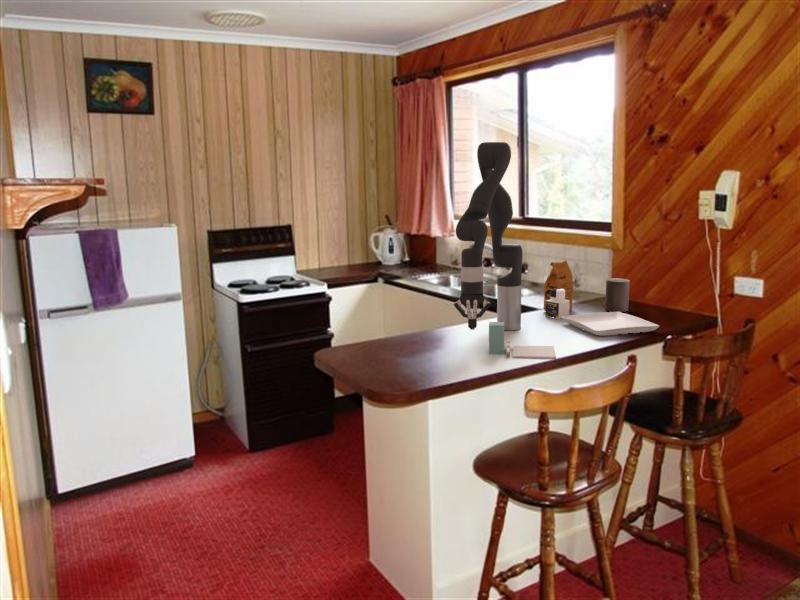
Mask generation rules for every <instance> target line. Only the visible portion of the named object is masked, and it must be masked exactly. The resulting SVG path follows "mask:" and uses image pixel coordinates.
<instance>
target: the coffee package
mask: <svg viewBox="0 0 800 600" xmlns="http://www.w3.org/2000/svg"><path fill="white" fill-rule="evenodd" d="M550 266H551V267H552V268H551V270H550V273H549V275H548V276H547V278H546V279H545V282H544V286H543V310H544V312H545V311H546V300H550V299H551V298H550V290H551V289H553V288H562V289H564V290H565V300H569V301H570V303H569V310H570V311H572V310H573V299H574V294H573V293H574V281H573V272H572V270H571V268H570V266H569V264H568V261H567V260H566V259H564V260H562V261H559V262H557V261H554V262H553V261H552V262H551V263H550Z"/></svg>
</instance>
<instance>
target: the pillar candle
mask: <svg viewBox="0 0 800 600" xmlns="http://www.w3.org/2000/svg"><path fill="white" fill-rule="evenodd" d="M630 281H631V280H630V279H628V278H627V279H626V278H620V277H618V276H617V277H615V278H614V277H613V278H607V279H606V281H605V299H604V300H605V301H604V302H605V303H604V304H605V306H604V311H605V310H606V311H605V312H607V311H611V312H626V311H628V312H629V304H630V303H629V301H630V299H629V298H630ZM626 313H627V312H626Z"/></svg>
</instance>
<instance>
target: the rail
mask: <svg viewBox="0 0 800 600" xmlns="http://www.w3.org/2000/svg"><path fill="white" fill-rule="evenodd" d="M506 358H507V359H510V358H511V341H506Z"/></svg>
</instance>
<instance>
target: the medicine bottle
mask: <svg viewBox="0 0 800 600" xmlns="http://www.w3.org/2000/svg"><path fill="white" fill-rule="evenodd" d="M550 298H551V299H550V300H546V312H545V317H546V316H548V317H547V318H550V317H554V318H553V319H555V318H561V316H569V315H570V311H569V303H570V301H569V300H565V290H564V289H562V288H553V289H551V290H550ZM561 319H562V318H561Z"/></svg>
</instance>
